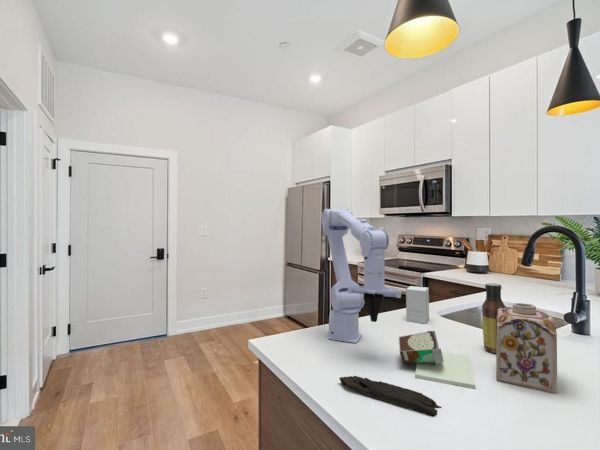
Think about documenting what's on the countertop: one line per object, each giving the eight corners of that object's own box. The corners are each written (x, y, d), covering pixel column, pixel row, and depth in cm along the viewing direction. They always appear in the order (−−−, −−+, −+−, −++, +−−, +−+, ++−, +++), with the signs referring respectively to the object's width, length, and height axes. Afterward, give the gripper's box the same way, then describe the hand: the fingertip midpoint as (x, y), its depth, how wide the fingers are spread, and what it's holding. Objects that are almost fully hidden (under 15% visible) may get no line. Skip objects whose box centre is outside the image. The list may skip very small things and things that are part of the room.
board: (415, 377, 79) (415, 374, 79) (419, 350, 95) (419, 348, 95) (475, 388, 73) (475, 385, 73) (468, 358, 90) (468, 355, 90)
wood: (443, 403, 68) (443, 388, 68) (437, 420, 62) (437, 404, 62) (347, 376, 80) (348, 364, 80) (334, 389, 74) (334, 376, 74)
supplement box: (429, 319, 126) (429, 287, 126) (425, 324, 120) (425, 290, 120) (410, 316, 130) (410, 285, 130) (405, 321, 124) (405, 288, 124)
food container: (405, 377, 82) (447, 373, 79) (399, 354, 82) (441, 349, 79) (403, 355, 94) (439, 350, 91) (398, 334, 94) (434, 330, 91)
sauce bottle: (506, 349, 96) (506, 283, 96) (509, 356, 91) (509, 286, 91) (481, 345, 99) (481, 281, 99) (483, 352, 94) (483, 285, 93)
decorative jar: (557, 395, 71) (558, 313, 71) (495, 381, 77) (496, 306, 77) (550, 373, 81) (550, 302, 81) (496, 363, 87) (496, 296, 87)
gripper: (345, 273, 90) (345, 321, 90) (399, 276, 84) (399, 328, 84) (351, 269, 96) (351, 314, 96) (402, 272, 90) (402, 320, 90)
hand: (374, 320), depth 90 cm, fingers closed
